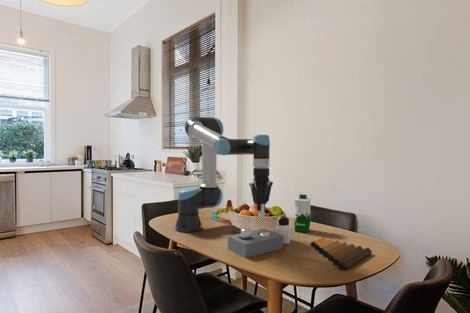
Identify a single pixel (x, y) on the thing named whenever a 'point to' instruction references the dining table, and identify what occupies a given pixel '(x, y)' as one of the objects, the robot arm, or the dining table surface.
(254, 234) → the peg block
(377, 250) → the dining table surface
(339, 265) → the pan flute
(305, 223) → the milk carton
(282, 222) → the medicine bottle
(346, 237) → the dining table surface
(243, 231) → the steel peg
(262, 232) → the steel peg
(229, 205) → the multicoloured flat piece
